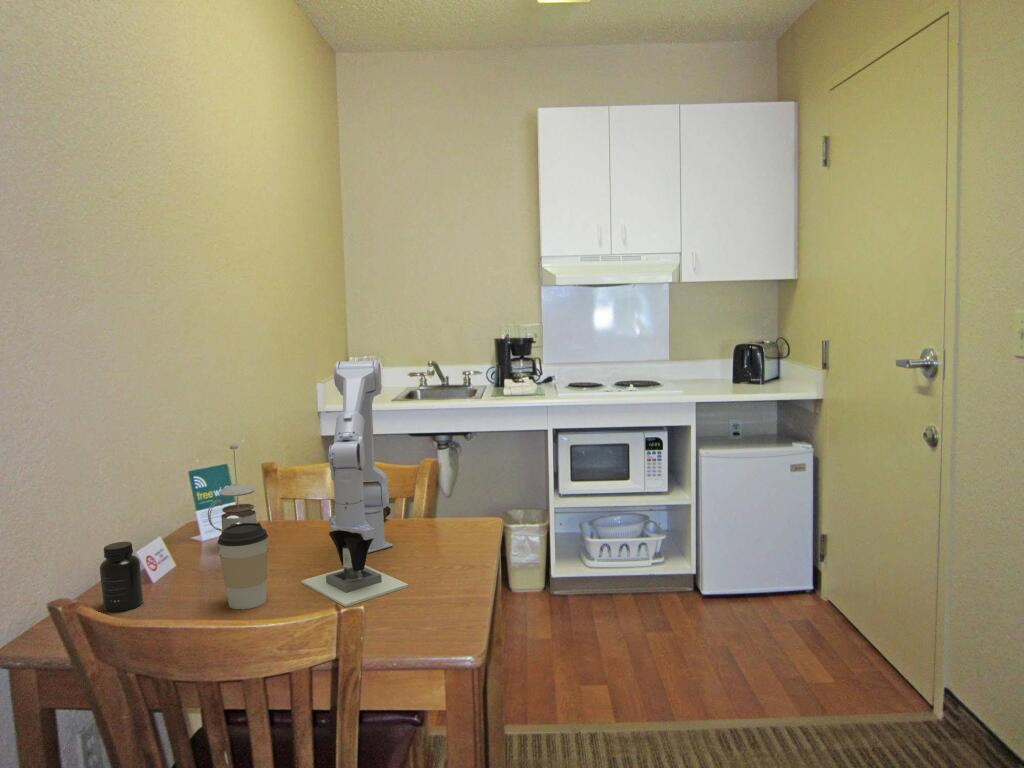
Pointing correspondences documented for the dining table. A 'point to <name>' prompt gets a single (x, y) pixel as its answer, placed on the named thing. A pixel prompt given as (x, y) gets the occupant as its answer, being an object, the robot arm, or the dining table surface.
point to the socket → (354, 586)
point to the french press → (234, 510)
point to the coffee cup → (244, 564)
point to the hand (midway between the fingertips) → (353, 567)
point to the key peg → (350, 566)
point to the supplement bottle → (120, 578)
